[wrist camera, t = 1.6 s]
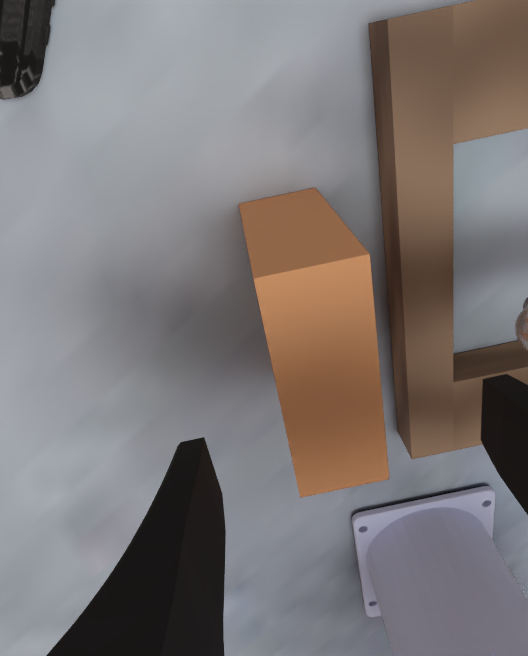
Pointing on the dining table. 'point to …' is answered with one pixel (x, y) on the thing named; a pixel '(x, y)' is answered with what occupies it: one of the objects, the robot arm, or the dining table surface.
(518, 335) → the meat mallet
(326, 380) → the orange arch block
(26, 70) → the phone
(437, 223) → the brown wooden frame
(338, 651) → the dining table surface
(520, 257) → the dining table surface
